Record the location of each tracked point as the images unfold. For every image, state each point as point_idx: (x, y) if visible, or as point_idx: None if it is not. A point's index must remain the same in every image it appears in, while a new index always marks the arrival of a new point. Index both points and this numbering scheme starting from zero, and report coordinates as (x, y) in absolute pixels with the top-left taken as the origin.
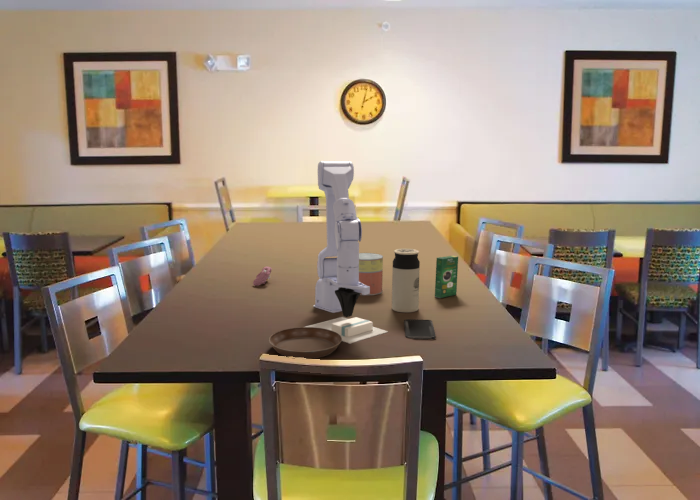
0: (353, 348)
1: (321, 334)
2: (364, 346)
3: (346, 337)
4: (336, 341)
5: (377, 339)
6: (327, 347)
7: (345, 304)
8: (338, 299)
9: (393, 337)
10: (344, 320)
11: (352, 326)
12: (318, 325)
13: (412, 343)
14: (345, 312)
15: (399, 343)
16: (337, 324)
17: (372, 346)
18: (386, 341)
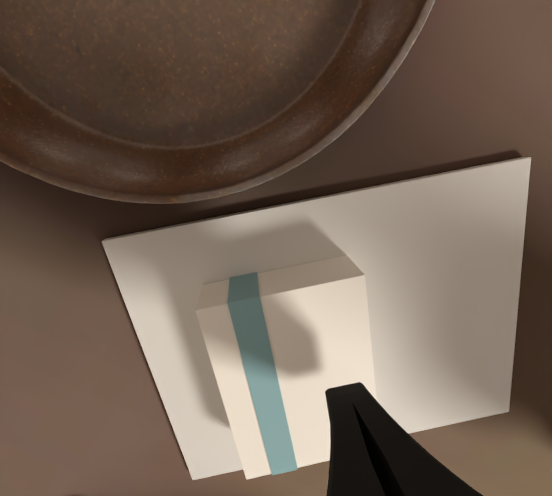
0: (30, 225)
1: (282, 140)
2: (43, 295)
3: (207, 277)
4: (103, 159)
5: (127, 398)
6: (78, 67)
7: (345, 480)
8: (470, 489)
9: (123, 465)
10: (370, 372)
11: (230, 357)
12: (487, 246)
13: (5, 491)
14: (336, 411)
15: (26, 450)
16: (323, 299)
17: (27, 330)
18: (79, 418)
